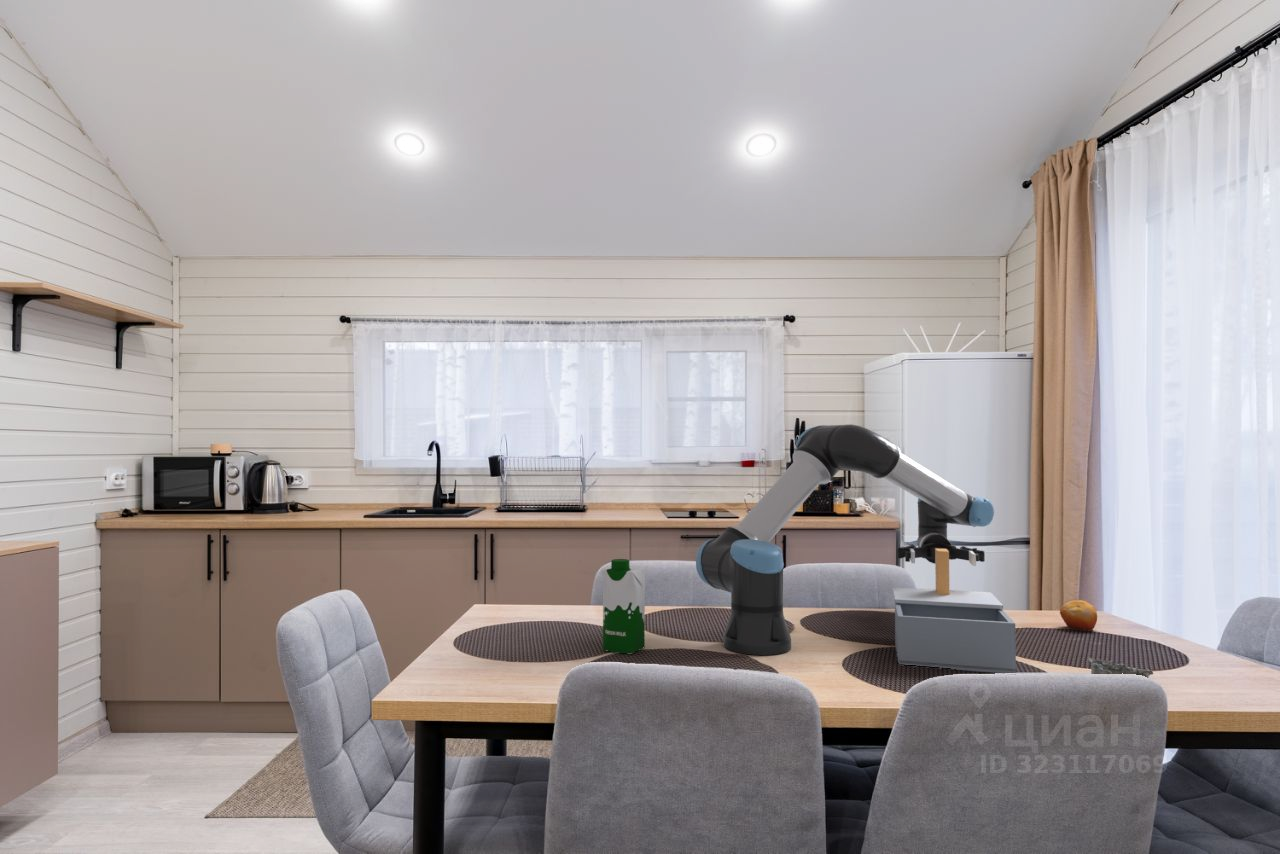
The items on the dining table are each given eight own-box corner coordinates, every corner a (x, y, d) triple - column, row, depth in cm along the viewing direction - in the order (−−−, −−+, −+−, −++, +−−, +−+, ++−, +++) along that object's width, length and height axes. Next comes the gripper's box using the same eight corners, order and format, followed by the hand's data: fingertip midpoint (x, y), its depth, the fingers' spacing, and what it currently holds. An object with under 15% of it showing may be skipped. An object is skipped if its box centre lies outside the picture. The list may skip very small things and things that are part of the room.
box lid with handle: (895, 602, 166) (894, 554, 166) (892, 590, 181) (892, 546, 182) (1003, 609, 160) (1002, 558, 160) (990, 595, 175) (990, 549, 175)
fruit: (1097, 620, 189) (1097, 596, 186) (1097, 642, 183) (1096, 617, 180) (1061, 616, 193) (1060, 592, 190) (1060, 637, 188) (1058, 613, 184)
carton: (898, 665, 153) (898, 616, 154) (895, 646, 168) (894, 601, 169) (1016, 674, 147) (1015, 623, 147) (1001, 653, 162) (1000, 607, 163)
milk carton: (597, 651, 163) (597, 560, 163) (615, 642, 171) (616, 555, 172) (633, 656, 159) (633, 562, 160) (650, 646, 167) (650, 557, 168)
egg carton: (1156, 694, 136) (1156, 671, 136) (1112, 692, 137) (1112, 669, 137) (1126, 676, 146) (1126, 655, 147) (1086, 674, 148) (1085, 654, 148)
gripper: (986, 564, 194) (1000, 576, 174) (886, 560, 202) (888, 572, 182) (986, 535, 195) (1000, 544, 174) (886, 532, 202) (888, 541, 182)
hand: (943, 558), depth 178 cm, fingers open, 13 cm apart
